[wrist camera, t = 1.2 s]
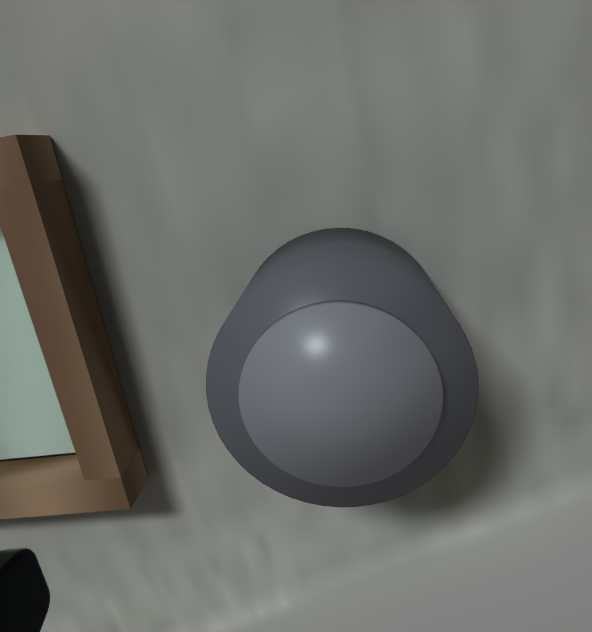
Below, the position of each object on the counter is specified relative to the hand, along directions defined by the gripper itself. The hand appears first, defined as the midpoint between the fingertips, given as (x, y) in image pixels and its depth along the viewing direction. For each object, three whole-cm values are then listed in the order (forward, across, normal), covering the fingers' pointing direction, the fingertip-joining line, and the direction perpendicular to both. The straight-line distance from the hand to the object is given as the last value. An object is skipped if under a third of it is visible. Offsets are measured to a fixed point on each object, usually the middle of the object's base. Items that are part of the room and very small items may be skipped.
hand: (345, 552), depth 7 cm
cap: (+9, 0, 0) cm, 9 cm away
